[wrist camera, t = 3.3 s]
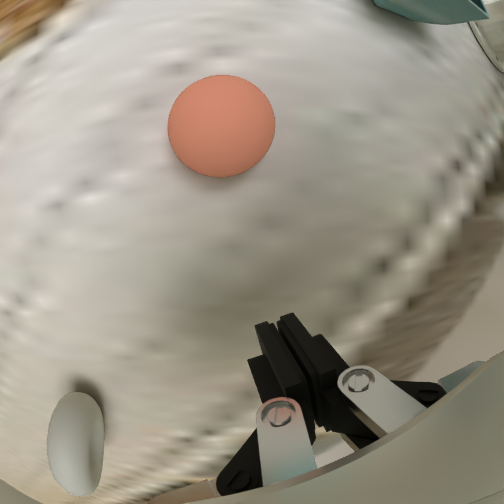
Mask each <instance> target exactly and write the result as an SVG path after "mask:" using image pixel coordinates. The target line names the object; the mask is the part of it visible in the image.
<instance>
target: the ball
mask: <svg viewBox="0 0 504 504" xmlns="http://www.w3.org/2000/svg"><path fill="white" fill-rule="evenodd" d="M274 133H275V117H274V112H273V109H272V106H271V104H270V102H269V100H268V99H267V97H266V96H265V94H264V93H263V92H262V91H261V90H260V89H259V88H258V87H256V86H255V85H254V84H252V83H251V82H249V81H247V80H245V79H242V78H239V77H235V76H230V75H216V76H210V77H206V78H203V79H201V80H199V81H197V82H195V83H193V84H191V85H190V86H189V87H187V88H186V89H185V90H184V91H183V92H182V93H181V94H180V95H179V97H178V98H177V99H176V101H175V103H174V104H173V106H172V109H171V111H170V114H169V118H168V136H169V140H170V143H171V146H172V148H173V150H174V152H175V154H176V155H177V157H178V158H179V159H180V160H181V161H182V162H183V163H184V164H185V165H186V166H187V167H189V168H190V169H192V170H194V171H196V172H198V173H200V174H203V175H206V176H212V177H228V176H234V175H237V174H240V173H242V172H244V171H247V170H248V169H250V168H251V167H253V166H254V165H256V164H257V163H258V162H259V161H260V160H261V159H262V158H263V157H264V155H265V154H266V153H267V151H268V149H269V147H270V146H271V143H272V140H273V137H274Z"/></svg>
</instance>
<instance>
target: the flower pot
mask: <svg viewBox="0 0 504 504" xmlns="http://www.w3.org/2000/svg"><path fill="white" fill-rule="evenodd" d="M373 1H374V3H375V4H376V5H377V6H378V7H381V8H384V9H386V10H389V11H392V12H394V13H397V14H399V15H402V16H404V17H406V18H408V19H411V20H414V21H419V22H424V23H430V24H440V25H449V24H457V23H464V22H470V21H477V20H484V19H490V16H489V13H488V11H487V9H486V7H485V5H484V3H483V1H482V0H373Z"/></svg>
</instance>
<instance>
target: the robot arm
mask: <svg viewBox="0 0 504 504" xmlns="http://www.w3.org/2000/svg"><path fill="white" fill-rule="evenodd" d="M485 7H486V9H487V11H488V13H489V16H490V19H484V20H477V21H470V22H469V24H470V26H471V28H472V30H473V32H474V34H475V36H476V38H477V39H478V41H479V43H480V45H481V46H482V48H483V50H484V51H485V53H486V54H487V56H488V57H489V58H490V60H491V61H492V63H493V64H494V65H495V66H496V67H497V68H498V69H499V70H500V71H501V72H503V73H504V0H500V1H496V2H493V3H489V4H486V5H485ZM277 327H278V330H277V328H276V327H275V325H274V323H271V324H269V323H268V322H267V321H266V322H263V323H260V324H257V325H255V329H256V333H257V336H258V339H259V343H260V346H261V350H262V353H263V355H260V356H257V357H254V358H251V359H248V360H247V361H248V364H249V366H250V369H251V372H252V375H253V378H254V381H255V384H256V387H257V389H258V392H259V395H260V398H261V401H262V403H263V404H262V405H261V406H260V407H259V409H258V411H257V413H256V424H257V428H256V429H255V431H254V432H253V433H252V435H251V436H250V437H249V438H248V440H247V441H246V442H245V443H244V445H243V446H242V447H241V449H240V450H239V451H238V452H237V453H236V455H235V456H234V457H233V458H232V460H231V461H230V462H229V463H228V464H227V465H226V467H225V468H224V469H223V470H222V471H221V472H220V474H219V476H218V477H217V478H216V479H213V480H210V481H208V480H207V479H206V480H203V481H201V482H198V483H195V484H192V485H189V486H186V487H183V488H180V489H177V490H173V491H170V492H166V493H163V494H159V495H157V496H154V497H153V498H152V499H151V500H150V501H149V502H148V504H504V351H502V352H500V353H498V354H496V355H495V356H493V357H492V358H490V359H489V360H487V361H486V362H484V361H475V362H473V363H471V364H469V365H467V366H465V367H463V368H461V369H459V370H457V371H455V372H453V373H452V374H449V375H447V376H445V377H443V378H441V379H440V380H438V383H432V382H411V381H393V380H388V379H387V378H385V377H384V376H383V375H381V374H380V373H379V372H377V371H376V370H375V369H373V368H371V367H368V366H354V367H351V368H350V367H349V366H348V365H347V364H346V362H345V361H344V360H343V359H342V358H341V356H340V355H339V354H338V353H337V352H336V351H335V349H334V348H333V347H332V346H331V345H330V344H329V342H328V341H327V340H326V339H325V338H324V336H323V335H321V334H318V335H316V336H313V337H312V336H311V335H310V334H309V332H308V331H307V330H306V328H305V327H304V326H303V325H302V323H301V322H300V321H299V319H298V318H297V317H296V316H295V314H294V313H290V314H287V315H284V316H281V317H280V321H277ZM278 331H279V332H278ZM314 420H315V422H316V424H317V425H318V427H322V426H324V428H325V430H326V432H328V431H330V430H332V432H337V433H340V435H341V437H342V438H343V439H344V440H345V441H346V443H347V444H348V445H349V446H350V447H351V448H352V449H353V450H354V451H355V452H354V453H352V454H350V455H348V456H346V457H344V458H341V459H339V460H337V461H335V462H332V463H330V464H328V465H325V466H323V467H320V468H318V469H317V465H316V462H315V458H314V454H313V451H312V447H311V446H312V445H313V443H314V441H315V439H316V435H315V423H314Z"/></svg>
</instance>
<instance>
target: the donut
mask: <svg viewBox="0 0 504 504" xmlns="http://www.w3.org/2000/svg"><path fill="white" fill-rule="evenodd" d="M47 455H48V461H49V466H50V470H51V472H52V474H53V476H54V479H55V480H56V482H57V483H58V484H59V485H60V486H61V487H62V488H63V489H64V490H66V491H67V492H68V493H70V494H72V495H75V496H87V495H90V494H92V493H93V492H94V491H95V489H96V488H97V486H98V484H99V481H100V477H101V472H102V465H103V455H104V422H103V416H102V412H101V409H100V407H99V406H98V404H97V403H96V401H95V400H94V399H93V398H92V397H91V396H90V395H88V394H85V393H81V392H71V393H68V394H67V395H65V396H64V397H63V398H62V399H61V400H60V401H59V402H58V404H57V406H56V408H55V410H54V412H53V414H52V417H51V420H50V423H49V428H48V435H47Z"/></svg>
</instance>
